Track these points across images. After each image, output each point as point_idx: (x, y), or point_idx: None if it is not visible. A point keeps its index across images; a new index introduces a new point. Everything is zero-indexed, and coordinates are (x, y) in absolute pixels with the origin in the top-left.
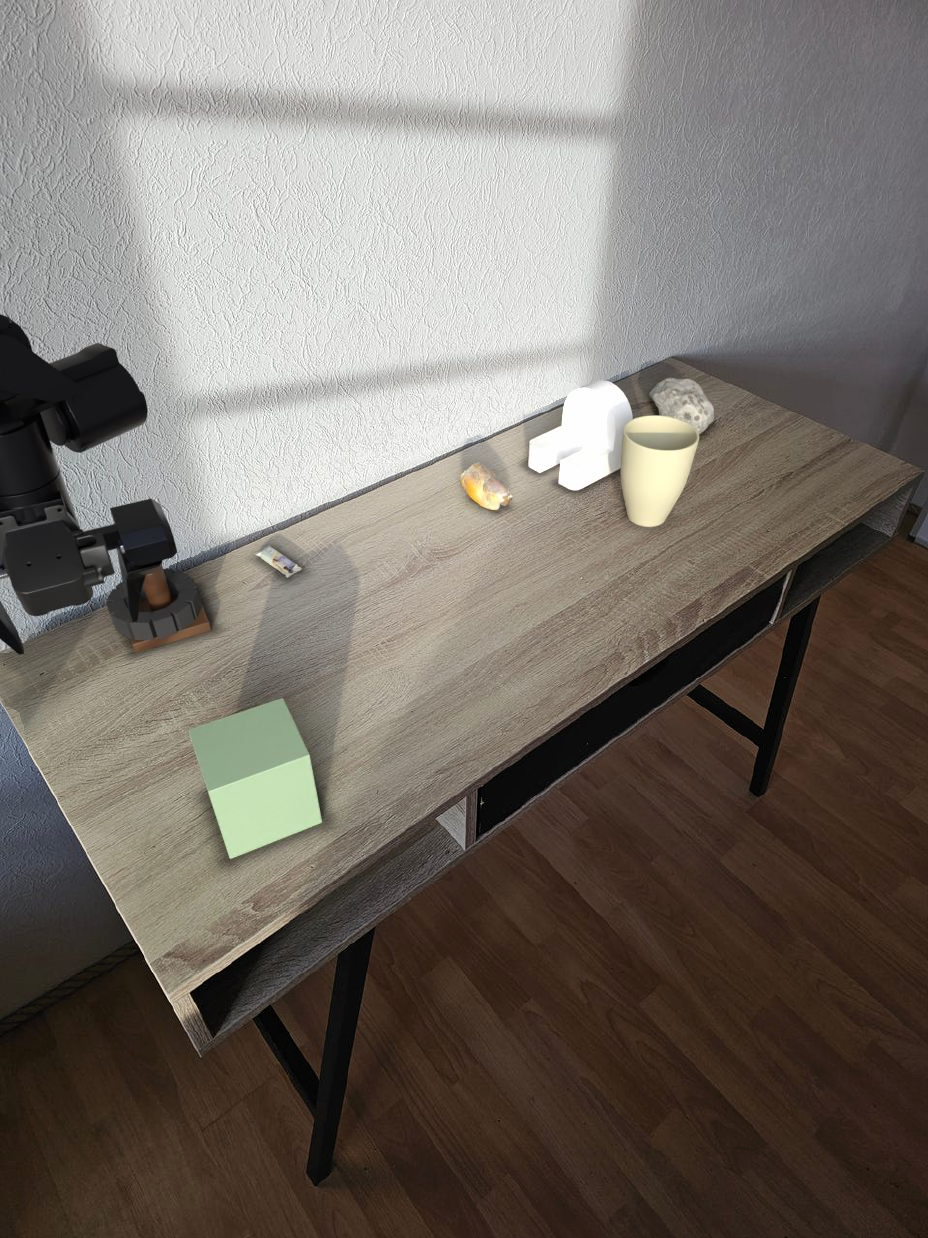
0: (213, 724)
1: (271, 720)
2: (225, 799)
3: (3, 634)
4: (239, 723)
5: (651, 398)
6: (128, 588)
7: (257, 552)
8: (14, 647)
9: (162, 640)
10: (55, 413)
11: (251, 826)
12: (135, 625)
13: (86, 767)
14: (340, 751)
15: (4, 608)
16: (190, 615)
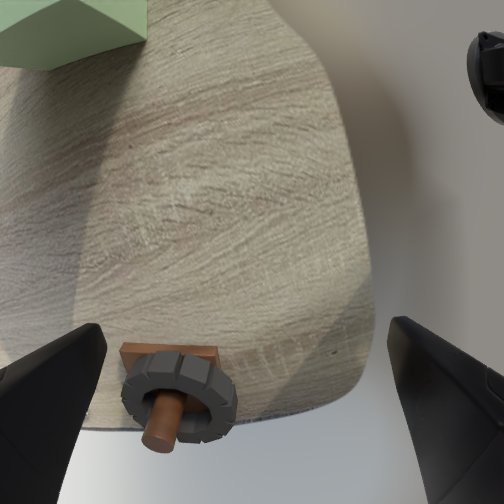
0: (32, 6)
1: None
2: None
3: (463, 363)
4: (5, 9)
5: None
6: (2, 391)
7: (86, 414)
8: (421, 330)
9: (178, 349)
10: None
11: None
12: (199, 377)
13: (306, 157)
14: (11, 86)
15: (417, 455)
16: (134, 367)
